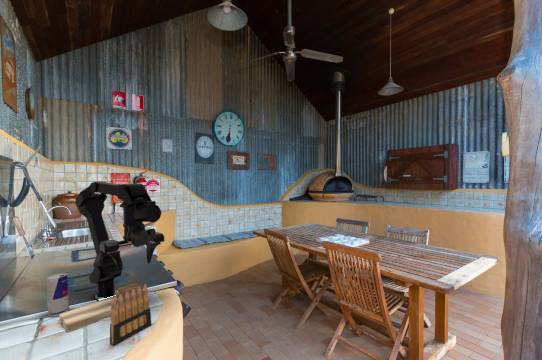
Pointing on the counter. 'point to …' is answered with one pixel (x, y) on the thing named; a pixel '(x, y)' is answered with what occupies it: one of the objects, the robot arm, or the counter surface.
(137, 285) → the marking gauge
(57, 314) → the energy drink
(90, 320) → the maple board
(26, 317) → the counter surface
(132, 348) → the counter surface
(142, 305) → the ammunition clip
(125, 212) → the robot arm
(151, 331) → the counter surface
